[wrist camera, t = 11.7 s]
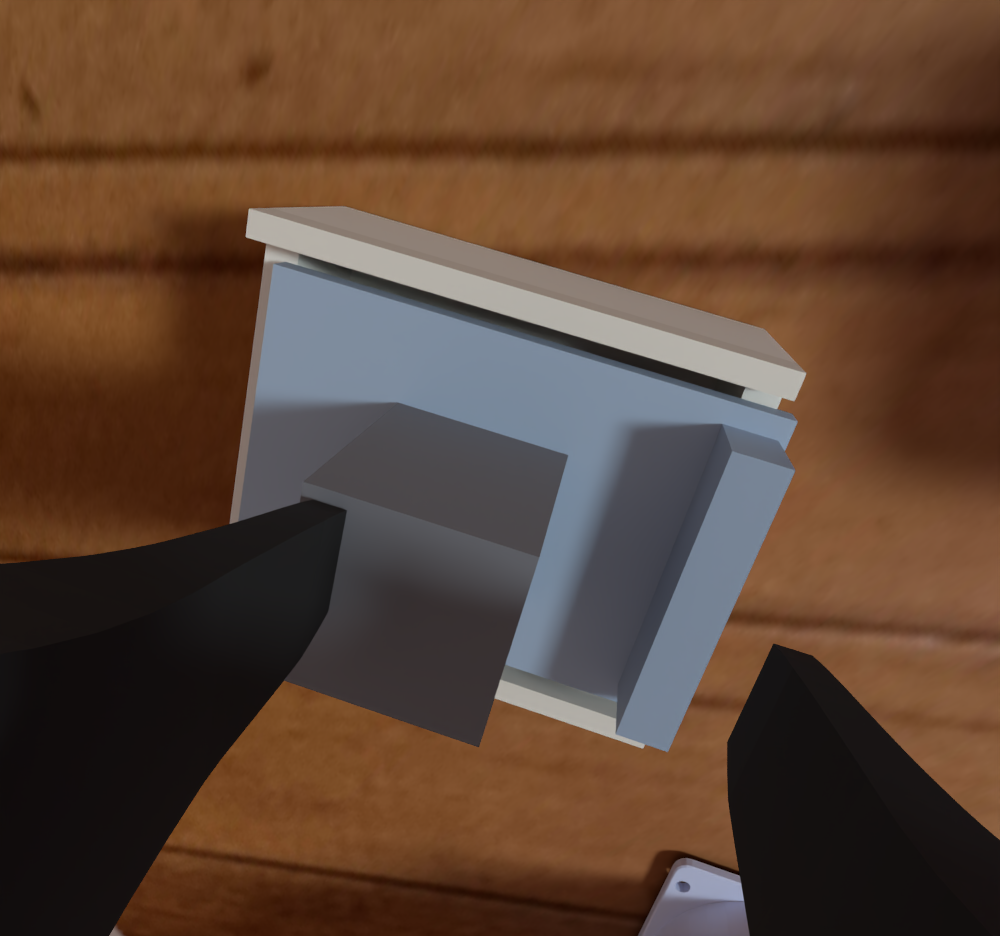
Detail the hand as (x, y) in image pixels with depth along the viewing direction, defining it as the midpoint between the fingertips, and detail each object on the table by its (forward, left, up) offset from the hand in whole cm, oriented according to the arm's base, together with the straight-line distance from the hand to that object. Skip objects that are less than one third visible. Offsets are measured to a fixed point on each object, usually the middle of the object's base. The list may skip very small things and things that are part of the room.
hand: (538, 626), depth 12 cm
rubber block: (-1, +2, -5) cm, 6 cm away
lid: (-1, +2, -6) cm, 6 cm away
